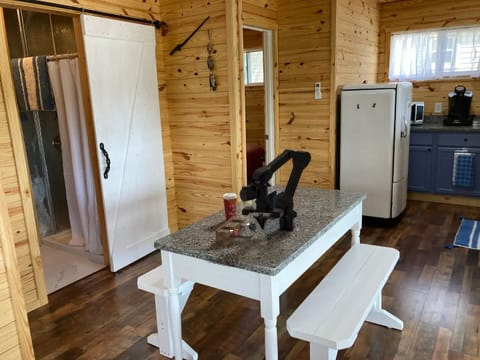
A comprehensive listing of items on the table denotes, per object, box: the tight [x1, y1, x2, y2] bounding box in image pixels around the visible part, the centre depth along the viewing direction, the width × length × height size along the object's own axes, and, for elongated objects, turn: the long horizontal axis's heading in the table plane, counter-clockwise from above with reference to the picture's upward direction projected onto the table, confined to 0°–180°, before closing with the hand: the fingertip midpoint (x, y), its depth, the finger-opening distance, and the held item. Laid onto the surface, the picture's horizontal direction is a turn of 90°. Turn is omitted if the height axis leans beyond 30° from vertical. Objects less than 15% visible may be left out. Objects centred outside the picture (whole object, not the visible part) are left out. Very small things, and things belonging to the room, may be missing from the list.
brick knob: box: [223, 229, 241, 239], centre depth 179 cm, size 8×4×4 cm, turn 66°
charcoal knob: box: [239, 221, 258, 232], centre depth 186 cm, size 8×4×4 cm, turn 66°
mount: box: [215, 216, 247, 246], centre depth 185 cm, size 6×20×6 cm, turn 156°
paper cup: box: [222, 192, 238, 222], centre depth 206 cm, size 8×8×14 cm
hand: (263, 229), depth 183 cm, fingers closed
